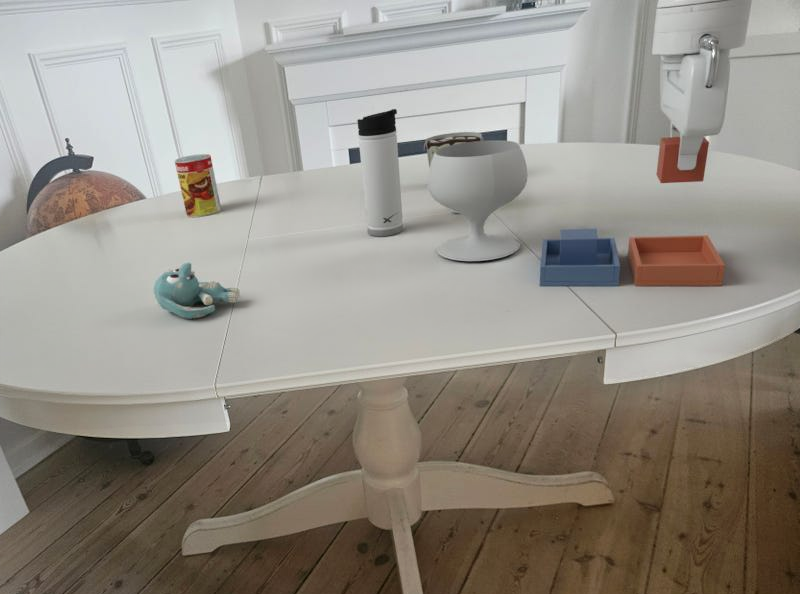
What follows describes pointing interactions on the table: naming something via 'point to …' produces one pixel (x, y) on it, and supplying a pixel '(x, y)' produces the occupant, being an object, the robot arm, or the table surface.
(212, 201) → the canned food
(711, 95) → the robot arm
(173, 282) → the stuffed animal
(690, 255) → the rust tray
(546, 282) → the slate tray
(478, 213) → the chalice
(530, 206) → the table surface
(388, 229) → the travel mug
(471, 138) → the food container
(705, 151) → the rust block
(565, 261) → the slate block
